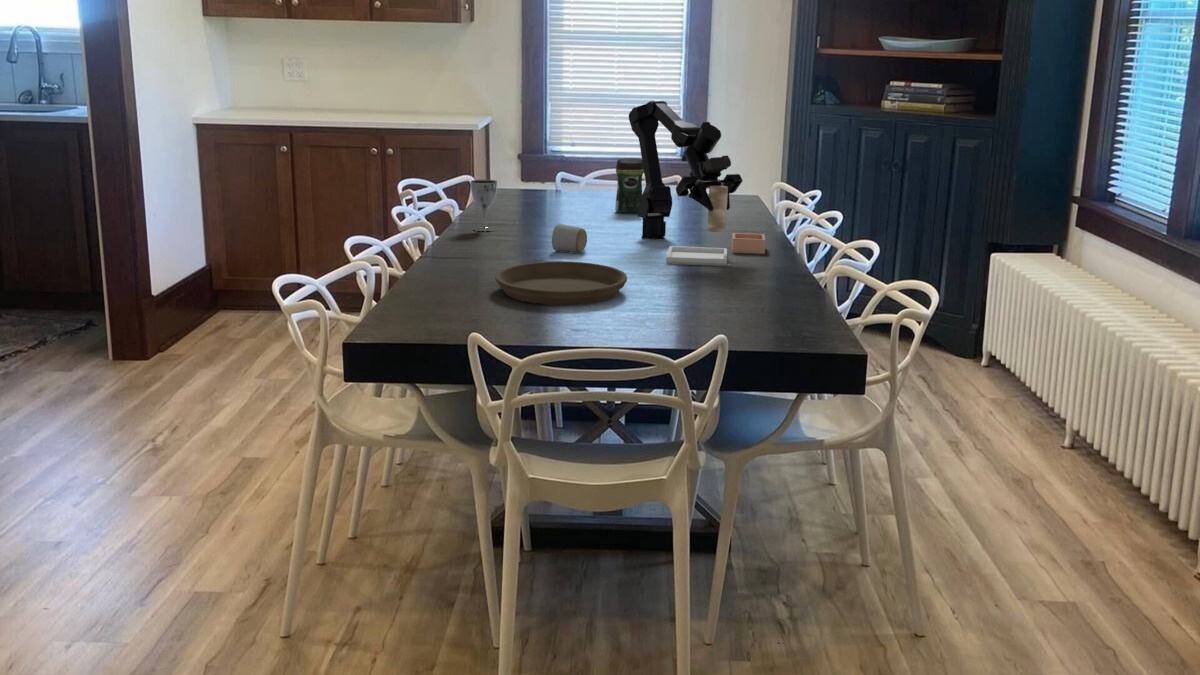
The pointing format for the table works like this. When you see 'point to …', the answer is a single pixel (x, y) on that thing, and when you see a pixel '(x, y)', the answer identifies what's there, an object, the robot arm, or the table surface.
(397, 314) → the table surface
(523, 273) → the plant saucer
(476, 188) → the wine glass
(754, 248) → the cup holder
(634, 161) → the coffee jar
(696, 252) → the grey tray
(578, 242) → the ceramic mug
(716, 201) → the beech cylinder
